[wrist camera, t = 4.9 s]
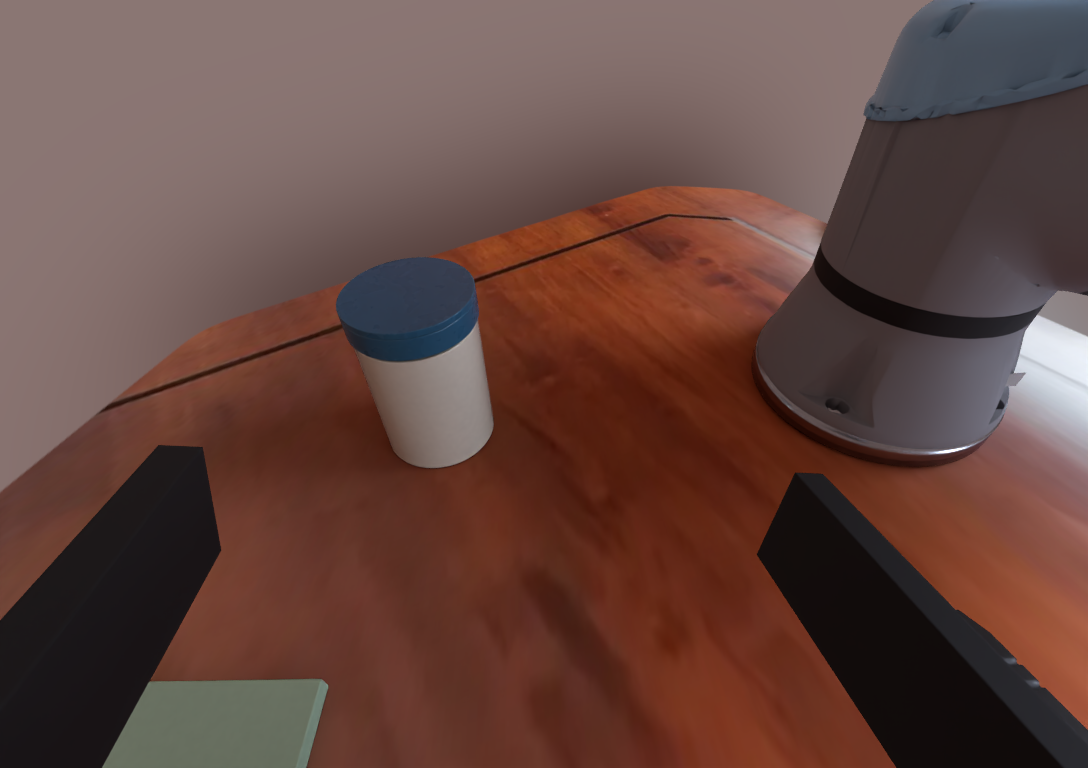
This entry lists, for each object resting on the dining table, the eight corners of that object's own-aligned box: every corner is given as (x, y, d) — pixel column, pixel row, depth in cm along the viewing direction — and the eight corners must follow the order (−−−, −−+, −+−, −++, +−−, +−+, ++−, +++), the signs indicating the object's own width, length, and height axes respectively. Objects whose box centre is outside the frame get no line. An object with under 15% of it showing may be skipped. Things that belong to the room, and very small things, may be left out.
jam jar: (400, 392, 38) (360, 267, 31) (497, 388, 38) (479, 263, 31) (378, 470, 33) (323, 342, 26) (490, 467, 33) (466, 337, 25)
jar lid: (365, 284, 32) (357, 258, 31) (484, 280, 32) (480, 254, 30) (328, 364, 26) (316, 336, 25) (472, 359, 26) (467, 331, 25)
